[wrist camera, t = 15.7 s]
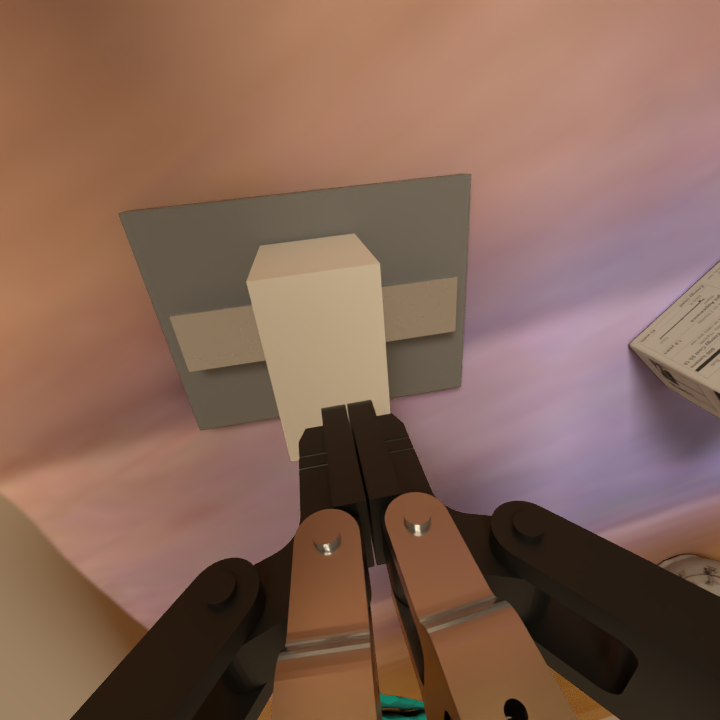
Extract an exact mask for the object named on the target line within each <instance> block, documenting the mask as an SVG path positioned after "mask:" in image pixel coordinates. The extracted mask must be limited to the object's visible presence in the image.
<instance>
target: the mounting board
mask: <svg viewBox="0 0 720 720" xmlns="http://www.w3.org/2000/svg"><path fill="white" fill-rule="evenodd" d="M470 189H471V174H455V175H446V176H437V177H428V178H419V179H410V180H401V181H392V182H383V183H374V184H365V185H356V186H347V187H338V188H329V189H320V190H311V191H302V192H293V193H284V194H275V195H266V196H257V197H248V198H239V199H230V200H221V201H212V202H203V203H194V204H185V205H176V206H167V207H158V208H149V209H140V210H131V211H125V212H122V213H119V217H120V219H121V222H122V225H123V227H124V230H125V232H126V235H127V238H128V240H129V243H130V246H131V248H132V251H133V254H134V256H135V259H136V262H137V264H138V267H139V270H140V272H141V275H142V277H143V280H144V283H145V285H146V288H147V291H148V293H149V296H150V299H151V301H152V304H153V307H154V309H155V312H156V315H157V317H158V320H159V322H160V325H161V328H162V330H163V333H164V336H165V338H166V341H167V344H168V346H169V349H170V352H171V354H172V357H173V360H174V362H175V365H176V367H177V370H178V373H179V375H180V378H181V381H182V383H183V386H184V389H185V391H186V394H187V397H188V399H189V402H190V405H191V407H192V410H193V413H194V415H195V418H196V420H197V423H198V426H199V428H200V430H205V429H211V428H217V427H223V426H229V425H235V424H241V423H247V422H253V421H259V420H264V419H270V418H276V417H280V416H279V411H278V407H277V403H276V399H275V395H274V391H273V387H272V383H271V379H270V375H269V371H268V367H267V363H266V360H264V361H258V362H251V363H245V364H238V365H232V366H225V367H219V368H212V369H206V370H199V371H193V372H189V370H188V368H187V365H186V362H185V359H184V357H183V354H182V351H181V348H180V345H179V343H178V340H177V337H176V334H175V332H174V329H173V326H172V323H171V321H170V318H169V316H170V315H176V314H183V313H191V312H198V311H205V310H212V309H219V308H227V307H234V306H241V305H248V304H252V303H251V299H250V295H249V291H248V287H247V283H246V281H247V278H248V276H249V273H250V270H251V268H252V265H253V262H254V260H255V257H256V254H257V252H258V249H259V247H260V246H261V245H269V244H277V243H284V242H292V241H300V240H307V239H315V238H323V237H330V236H338V235H346V234H353V233H354V234H355V235H356V236H357V237H358V238H359V239H360V241H361V242H362V243H363V244H364V245H365V246H366V248H367V249H368V250H369V251H370V252H371V253H372V255H373V256H374V257H375V258H376V259H377V260H378V262H379V263H380V271H381V285H382V286H386V285H393V284H400V283H407V282H414V281H422V280H429V279H436V278H443V277H451V276H457V302H456V329H455V331H454V332H447V333H441V334H434V335H427V336H421V337H414V338H408V339H401V340H395V341H388V342H386V357H387V371H388V385H389V398H395V397H401V396H407V395H413V394H419V393H425V392H431V391H437V390H442V389H448V388H454V387H460V386H461V377H462V356H463V335H464V314H465V294H466V273H467V252H468V231H469V210H470Z"/></svg>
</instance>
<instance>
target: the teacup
mask: <svg viewBox="0 0 720 720" xmlns="http://www.w3.org/2000/svg"><path fill="white" fill-rule="evenodd" d="M658 566H660V567H662V568H664V569H666V570H668V571H670V572H672V573H674V574H676V575H678V576H680V577H682V578H684V579H686V580H688V581H690V582H692V583H694V584H695V585H697V586H699V587H701V588H703V589H705V590H707V591H709V592H711V593H713V594H715V595H717V596H719V597H720V562H719V561H715V560H711V559H706V558H701V557H699V556H697V555H692V554H686V555H678V556H676V557H674V558H671V559H669V560H665V561H663V562H662V563H661V564H659V565H658Z"/></svg>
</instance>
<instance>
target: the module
mask: <svg viewBox="0 0 720 720" xmlns="http://www.w3.org/2000/svg"><path fill="white" fill-rule="evenodd" d="M246 283H247V287H248V291H249V295H250V299H251V303H252V307H253V311H254V315H255V319H256V323H257V327H258V331H259V335H260V339H261V343H262V347H263V351H264V355H265V359H266V363H267V367H268V371H269V375H270V379H271V383H272V387H273V391H274V395H275V399H276V403H277V407H278V411H279V416H280V420H281V424H282V428H283V432H284V436H285V440H286V444H287V448H288V452H289V456H290V460H291V462H293V461H298V460H299V440H300V438H301V437H302V435H303V433H304V431H305V429H307V428H312V427H318V426H323V422H322V413H321V408H326V407H332V406H337V405H343V404H345V406H346V410H347V415H348V409H347V404H348V403H354V402H360V401H366V400H371V401H372V403H373V406H374V409H375V412H376V415H377V416H379V415H385V414H390V399H389V385H388V371H387V357H386V342H385V328H384V314H383V300H382V285H381V271H380V263H379V262H378V260H377V259H376V258H375V257H374V256H373V255H372V253H371V252H370V251H369V250H368V249H367V248H366V246H365V245H364V244H363V243H362V242H361V241H360V239H359V238H358V237H357V236H356V235H355V234H354V233H353V234H346V235H338V236H330V237H323V238H315V239H307V240H300V241H292V242H284V243H277V244H269V245H261V246H260V247H259V249H258V252H257V254H256V257H255V260H254V262H253V265H252V268H251V270H250V273H249V276H248V278H247V281H246ZM348 419H349V416H348Z"/></svg>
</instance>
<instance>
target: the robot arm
mask: <svg viewBox="0 0 720 720" xmlns="http://www.w3.org/2000/svg"><path fill="white" fill-rule="evenodd" d="M347 409H348V415H347V410H346V406H345V404H343V405H337V406H332V407H326V408H321V413H322V422H323V426H318V427H312V428H307V429H305V431H304V433H303V435H302V437H301V438H300V440H299V469H300V471H299V475H300V511H301V518H300V524H299V527H298V529H297V531H296V534H295V536H294V537H293V538H292V540H291V541H290V542H289V543H288V544H287V545H286V546H285V547H284V548H283V549H281V550H280V551H279V552H277V553H275V554H274V555H272V556H270V557H268V558H266V559H264V560H263V561H261V562H259V563H257V564H255V565H252V564H251V563H250V562H249V561H247V560H245V559H241V558H228V559H224V560H221V561H218V562H216V563H214V564H212V565H211V566H209V567H207V568H206V569H205V570H204V571H202V572H201V573H200V574H199V575H198V576H197V577H196V579H195V580H194V581H193V582H192V583H191V584H190V585H189V586H188V588H187V589H186V590H185V591H184V592H183V593H182V594H181V595H180V597H179V598H178V599H177V600H176V601H175V602H174V603H173V604H172V606H171V607H170V608H169V609H168V610H167V611H166V612H165V613H164V614H163V616H162V617H161V618H160V619H159V620H158V621H157V622H156V623H155V625H154V626H153V627H152V628H151V629H150V630H149V631H148V632H147V634H146V635H145V636H144V637H143V638H142V639H141V640H140V642H139V643H138V644H137V645H136V646H135V647H134V648H133V649H132V650H131V652H130V653H129V654H128V655H127V656H126V657H125V658H124V659H123V660H122V662H121V663H120V664H119V665H118V666H117V667H116V668H115V669H114V671H113V672H112V673H111V674H110V675H109V676H108V677H107V679H106V680H105V681H104V682H103V683H102V684H101V685H100V686H99V687H98V689H97V690H96V691H95V692H94V693H93V694H92V695H91V696H90V698H89V699H88V700H87V701H86V702H85V703H84V704H83V705H82V706H81V708H80V709H79V710H78V711H77V712H76V713H75V715H73V717H72V718H71V719H70V720H257V719H258V717H259V715H260V714H261V712H262V710H263V708H264V707H265V705H266V703H267V701H268V700H269V698H270V696H271V695H272V693H273V698H272V709H271V720H383V718H382V710H381V701H380V692H379V682H378V673H377V663H376V654H375V644H374V634H373V625H372V615H371V606H370V602H371V585H370V578H369V571H368V567H373V566H374V559H373V551H372V544H373V548H374V553H375V558H376V563H377V565H381V564H386V565H387V570H388V574H389V578H390V583H391V594H392V599H393V602H394V605H395V609H396V612H397V615H398V619H399V622H400V625H401V628H402V632H403V635H404V638H405V641H406V645H407V648H408V651H409V655H410V658H411V661H412V664H413V668H414V671H415V674H416V677H417V681H418V684H419V687H420V691H421V695H422V699H423V703H424V708H425V713H426V718H427V720H578V718H577V716H576V715H575V713H574V711H573V709H572V708H571V706H570V704H569V702H568V701H567V699H566V697H565V695H564V694H563V692H562V690H561V688H560V687H559V685H558V683H557V681H556V680H555V678H554V676H553V674H552V673H551V671H550V669H549V667H551V668H552V669H553V670H555V671H556V672H557V673H559V674H560V675H561V676H563V677H564V678H565V679H567V680H568V681H569V682H571V683H572V684H573V685H575V686H576V687H577V688H579V689H580V690H581V691H583V692H584V693H585V694H587V695H588V696H589V697H591V698H592V699H593V700H595V701H596V702H597V703H599V704H600V705H601V706H603V707H604V708H605V709H607V710H608V711H609V712H611V713H612V714H613V715H615V716H616V717H617V718H619V719H620V720H720V597H719V596H717V595H715V594H713V593H711V592H709V591H707V590H705V589H703V588H701V587H699V586H697V585H695V584H694V583H692V582H690V581H688V580H686V579H684V578H682V577H680V576H678V575H676V574H674V573H672V572H670V571H668V570H666V569H664V568H662V567H660V566H658V565H656V564H654V563H652V562H650V561H648V560H646V559H644V558H642V557H640V556H638V555H636V554H634V553H632V552H630V551H628V550H626V549H624V548H622V547H620V546H618V545H616V544H614V543H612V542H610V541H608V540H606V539H604V538H602V537H600V536H598V535H596V534H594V533H592V532H590V531H588V530H586V529H584V528H582V527H580V526H578V525H576V524H574V523H572V522H570V521H568V520H566V519H564V518H562V517H560V516H558V515H556V514H554V513H552V512H550V511H548V510H546V509H544V508H542V507H540V506H538V505H536V504H533V503H530V502H525V501H510V502H507V503H504V504H502V505H500V506H499V507H498V508H497V509H496V510H495V511H494V513H493V515H492V516H487V515H476V514H467V513H461V512H458V511H455V510H452V509H450V508H448V507H447V506H445V505H444V504H443V503H442V502H441V501H439V500H438V499H437V498H436V497H435V496H434V494H433V492H432V490H431V488H430V486H429V483H428V481H427V479H426V476H425V474H424V472H423V469H422V467H421V464H420V462H419V460H418V457H417V455H416V452H415V450H414V449H413V445H412V443H411V441H410V439H409V436H408V433H407V431H406V429H405V426H404V424H403V423H402V422H401V421H400V420H399V419H398V418H397V417H395V416H394V415H393V414H392V413H391V414H385V415H379V416H377V415H376V412H375V409H374V406H373V403H372V401H371V400H366V401H360V402H354V403H348V404H347ZM348 416H349V419H348ZM370 534H371V535H370ZM371 539H372V543H371ZM547 665H548V666H549V667H548V666H547Z"/></svg>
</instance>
